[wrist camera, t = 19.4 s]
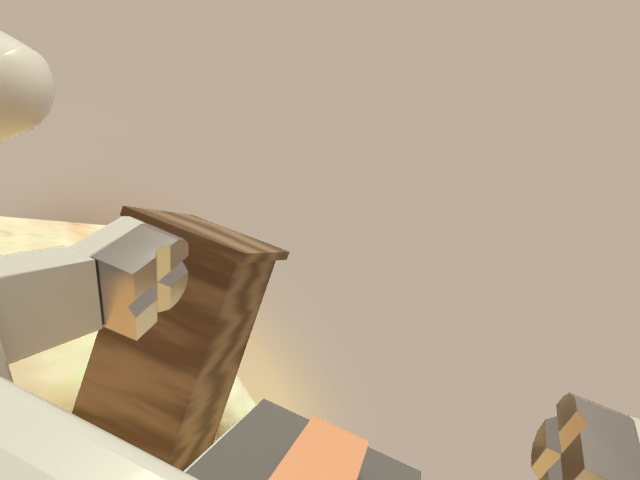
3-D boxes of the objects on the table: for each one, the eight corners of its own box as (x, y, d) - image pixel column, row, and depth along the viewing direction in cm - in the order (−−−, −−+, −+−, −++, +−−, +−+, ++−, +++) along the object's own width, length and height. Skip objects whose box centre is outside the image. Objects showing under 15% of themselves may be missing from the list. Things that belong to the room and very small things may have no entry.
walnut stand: (160, 504, 44) (245, 253, 43) (47, 442, 47) (123, 205, 46) (222, 443, 58) (289, 251, 56) (132, 398, 61) (192, 215, 59)
